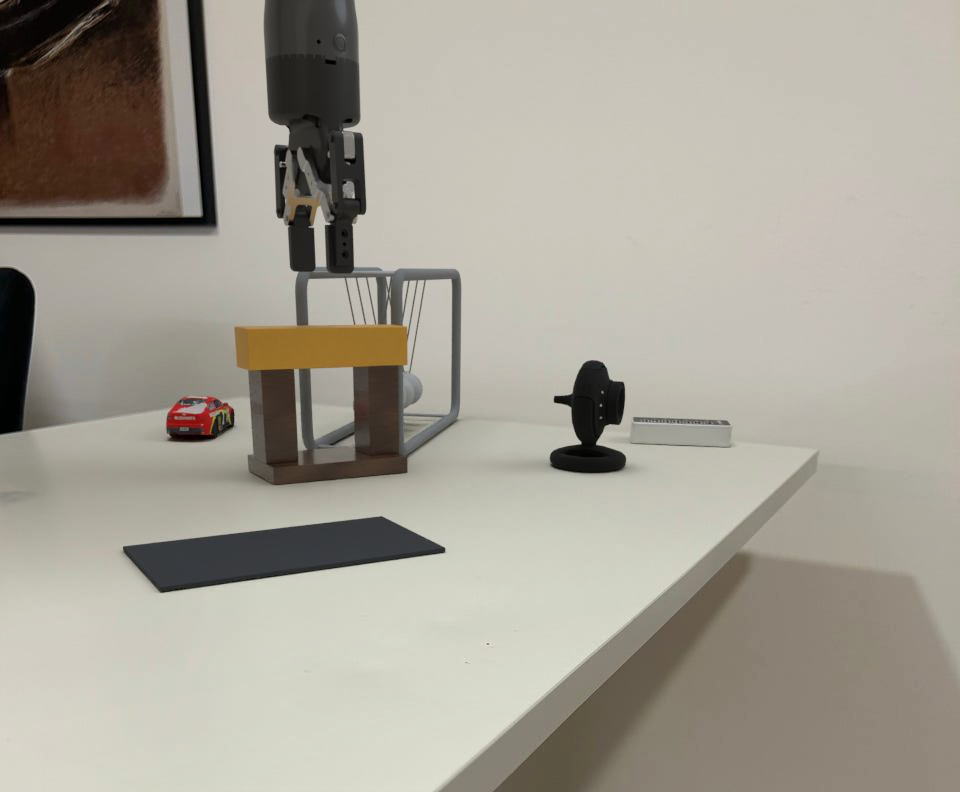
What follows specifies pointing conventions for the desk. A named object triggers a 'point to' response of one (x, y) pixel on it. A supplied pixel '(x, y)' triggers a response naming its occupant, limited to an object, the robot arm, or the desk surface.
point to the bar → (320, 346)
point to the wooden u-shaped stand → (366, 458)
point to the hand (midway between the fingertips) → (321, 272)
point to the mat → (276, 552)
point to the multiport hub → (680, 431)
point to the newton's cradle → (407, 382)
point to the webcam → (592, 420)
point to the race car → (199, 416)
